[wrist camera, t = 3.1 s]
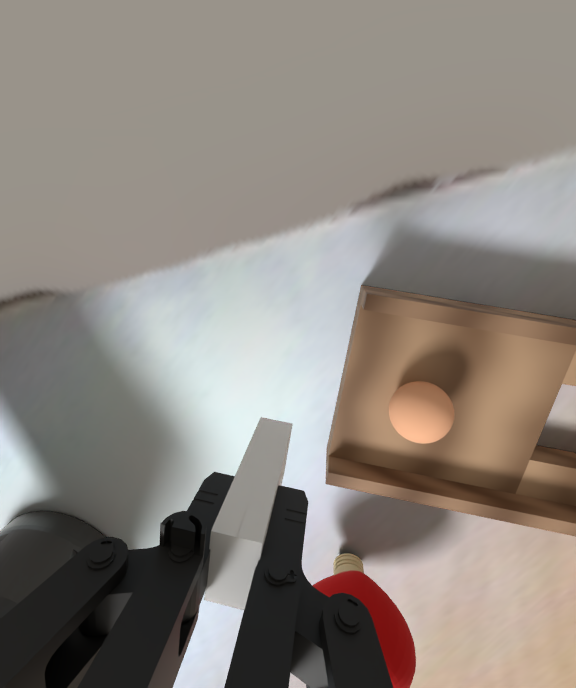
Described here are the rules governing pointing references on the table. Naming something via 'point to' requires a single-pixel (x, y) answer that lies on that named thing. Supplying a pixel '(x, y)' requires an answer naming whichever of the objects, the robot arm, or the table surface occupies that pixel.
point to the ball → (421, 412)
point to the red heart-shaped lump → (376, 616)
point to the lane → (457, 408)
